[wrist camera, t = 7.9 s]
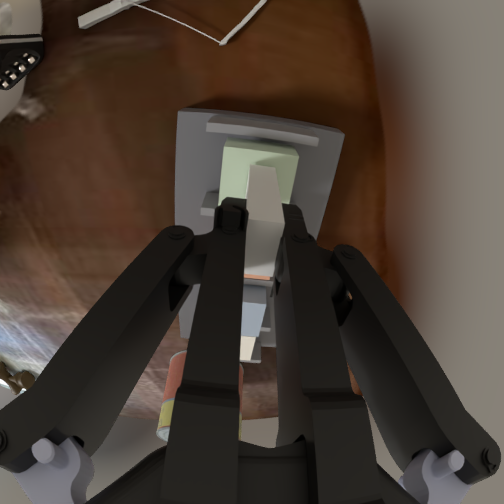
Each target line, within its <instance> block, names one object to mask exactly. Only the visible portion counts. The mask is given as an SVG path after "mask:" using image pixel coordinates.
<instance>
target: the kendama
mask: <svg viewBox="0 0 504 504" xmlns="http://www.w3.org/2000/svg"><path fill="white" fill-rule="evenodd" d="M0 379H2V380H4V381H5V382H6V383H7V384H8V385H9V387H10V389H11V391H12V393H13V394H15V395H17V394H19V393H20V391H21V390H22V388H25V389H26V390H28V389H29V388H30V387H32V385H33V384H34V382H35V378H34V376H33V375H32V374H31V373H29V372H27V371H25V372H23V373H22V372H18V373H16V375H15V376H12V375H11V374H10V373H9V372H8V371H7V369H6V367H5V365H4V363H3V362H0Z"/></svg>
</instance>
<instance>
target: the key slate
mask: <svg viewBox="0 0 504 504" xmlns="http://www.w3.org/2000/svg"><path fill="white" fill-rule="evenodd" d="M265 308H266V286H258V285H249V284H244V285H243V305H242V325H241V335H242V336H253V337H258V336H259V332H260V329H261V325H262V321H263V317H264V312H265Z"/></svg>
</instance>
